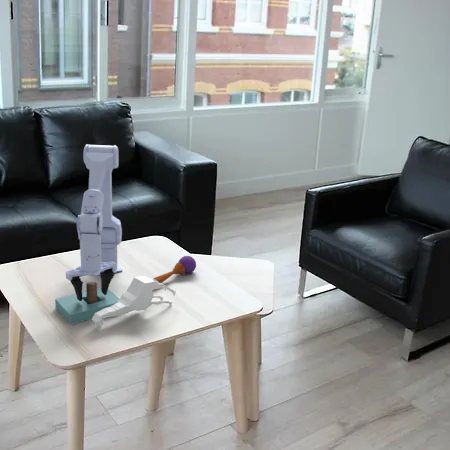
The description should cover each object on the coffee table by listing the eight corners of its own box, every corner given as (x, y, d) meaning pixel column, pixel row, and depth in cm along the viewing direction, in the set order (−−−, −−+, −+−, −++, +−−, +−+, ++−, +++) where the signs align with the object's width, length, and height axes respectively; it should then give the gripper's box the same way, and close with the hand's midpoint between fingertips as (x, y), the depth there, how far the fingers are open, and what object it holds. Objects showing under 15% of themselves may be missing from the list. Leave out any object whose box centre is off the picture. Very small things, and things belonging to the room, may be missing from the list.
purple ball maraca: (142, 274, 199) (185, 252, 213) (145, 292, 201) (188, 268, 215) (155, 277, 196) (198, 254, 210) (158, 295, 197) (201, 270, 211)
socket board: (55, 307, 184) (55, 298, 183) (106, 295, 193) (105, 286, 192) (70, 324, 176) (70, 315, 175) (122, 310, 185) (122, 301, 184)
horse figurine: (151, 328, 193) (85, 326, 175) (168, 278, 192) (103, 270, 173) (161, 335, 190) (95, 333, 171) (179, 284, 189) (114, 276, 170)
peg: (85, 307, 186) (84, 282, 183) (94, 305, 187) (94, 280, 184) (89, 311, 183) (88, 287, 180) (99, 309, 185) (98, 284, 182)
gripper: (72, 264, 172) (73, 308, 177) (120, 253, 180) (120, 296, 185) (62, 254, 177) (64, 297, 182) (109, 244, 185) (110, 286, 190)
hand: (92, 296), depth 184 cm, fingers open, 7 cm apart
